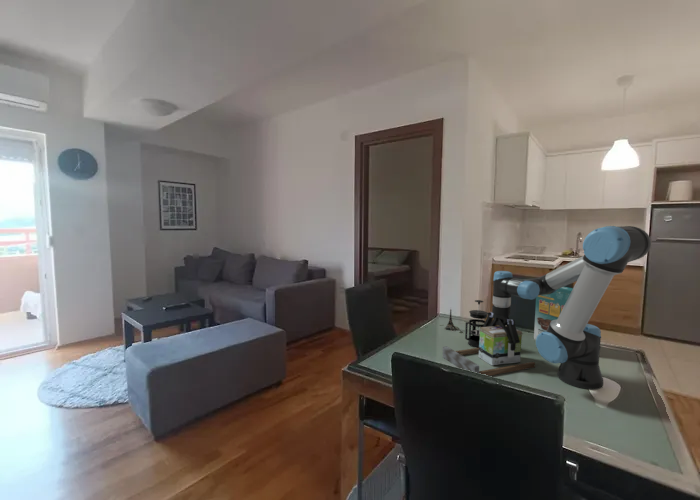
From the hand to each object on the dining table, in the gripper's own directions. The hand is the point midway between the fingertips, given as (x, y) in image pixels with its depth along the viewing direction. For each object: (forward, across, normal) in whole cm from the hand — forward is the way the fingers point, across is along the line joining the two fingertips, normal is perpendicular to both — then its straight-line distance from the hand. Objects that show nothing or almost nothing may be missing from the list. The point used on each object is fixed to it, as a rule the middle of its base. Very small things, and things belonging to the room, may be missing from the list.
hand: (499, 351), depth 155 cm
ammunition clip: (+5, +33, -26) cm, 42 cm away
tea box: (+4, 0, 0) cm, 4 cm away
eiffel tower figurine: (+5, +44, -6) cm, 45 cm away
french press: (+4, +19, -3) cm, 20 cm away
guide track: (+4, 0, +6) cm, 8 cm away
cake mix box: (+4, +5, -41) cm, 42 cm away
